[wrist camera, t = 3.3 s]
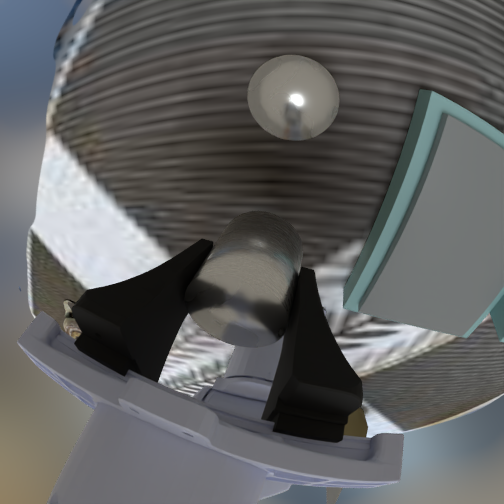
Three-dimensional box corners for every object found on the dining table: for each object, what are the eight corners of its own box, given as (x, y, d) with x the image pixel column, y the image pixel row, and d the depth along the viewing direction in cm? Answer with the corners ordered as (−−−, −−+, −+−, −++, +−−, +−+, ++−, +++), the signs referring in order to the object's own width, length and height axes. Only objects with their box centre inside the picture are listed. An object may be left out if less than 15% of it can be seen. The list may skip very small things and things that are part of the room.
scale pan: (460, 330, 19) (462, 336, 19) (358, 304, 21) (358, 311, 20) (549, 188, 10) (555, 193, 9) (443, 112, 11) (448, 114, 10)
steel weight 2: (328, 133, 16) (328, 150, 13) (263, 117, 17) (241, 130, 13) (342, 71, 14) (347, 67, 10) (273, 57, 14) (254, 48, 10)
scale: (474, 324, 22) (486, 367, 17) (343, 289, 24) (341, 342, 19) (558, 186, 10) (594, 220, 6) (419, 89, 12) (457, 95, 8)
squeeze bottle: (339, 398, 37) (320, 504, 23) (378, 407, 36) (366, 505, 22) (316, 412, 42) (296, 502, 28) (352, 420, 41) (338, 505, 27)
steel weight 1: (292, 287, 16) (274, 357, 12) (220, 266, 17) (186, 328, 13) (312, 224, 13) (300, 294, 9) (226, 202, 14) (182, 260, 10)
